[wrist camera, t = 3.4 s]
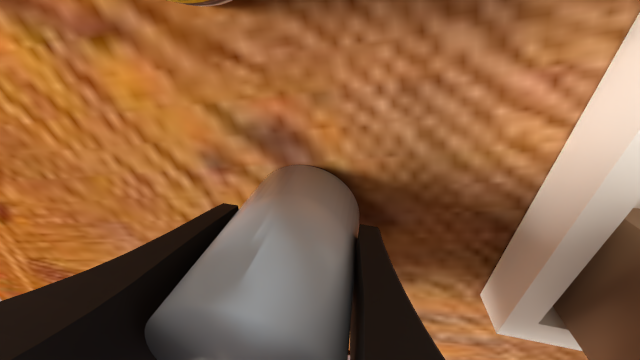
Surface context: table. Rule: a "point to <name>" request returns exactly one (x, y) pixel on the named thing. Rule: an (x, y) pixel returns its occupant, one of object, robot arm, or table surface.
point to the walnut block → (607, 297)
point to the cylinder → (269, 278)
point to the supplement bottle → (202, 2)
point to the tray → (573, 208)
